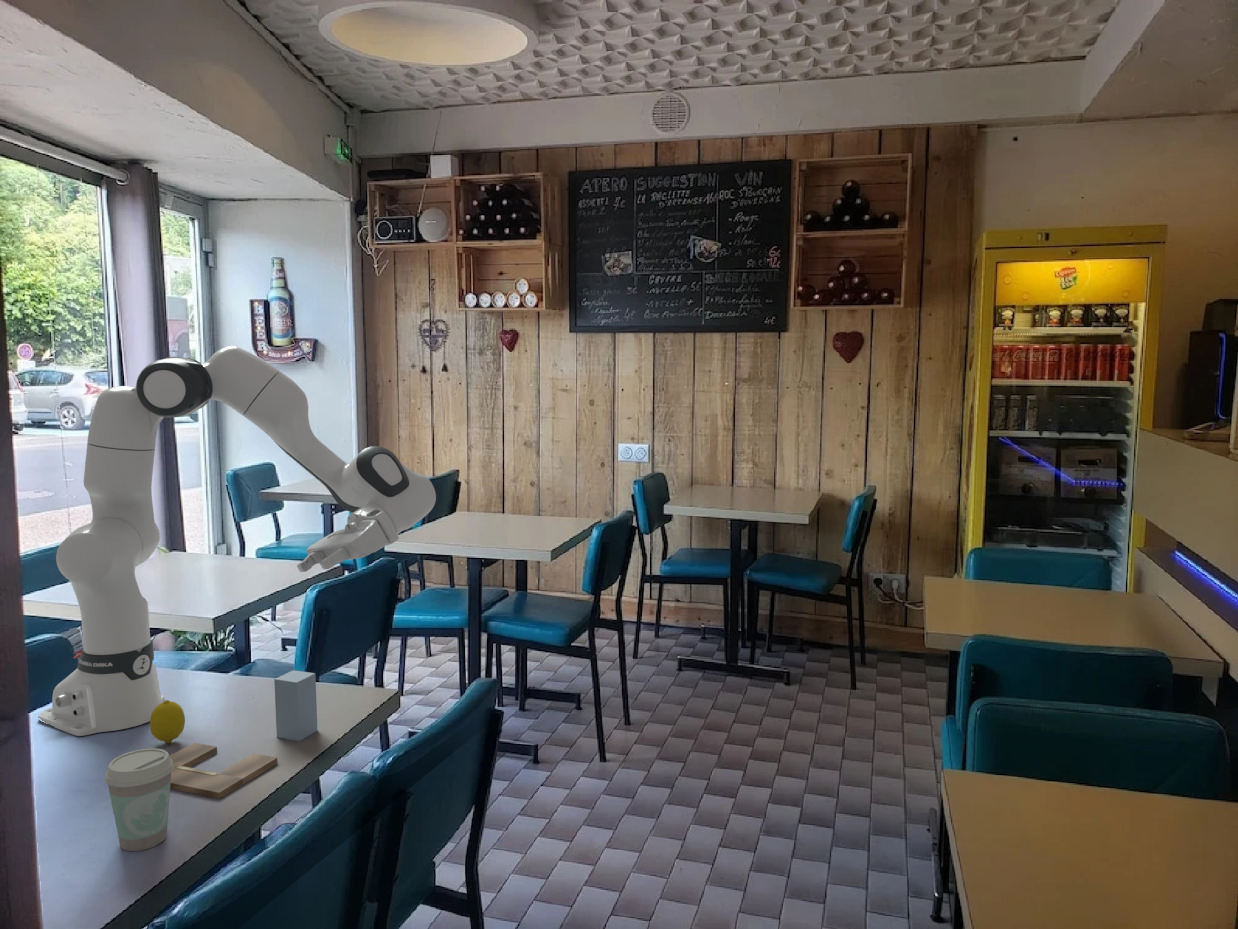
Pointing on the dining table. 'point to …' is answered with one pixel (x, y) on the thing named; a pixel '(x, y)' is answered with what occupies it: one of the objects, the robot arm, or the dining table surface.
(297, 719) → the blue-grey rectangular block
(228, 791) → the wooden u-shaped frame
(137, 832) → the coffee cup
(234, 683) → the dining table surface
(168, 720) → the lemon
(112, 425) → the robot arm
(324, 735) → the dining table surface
